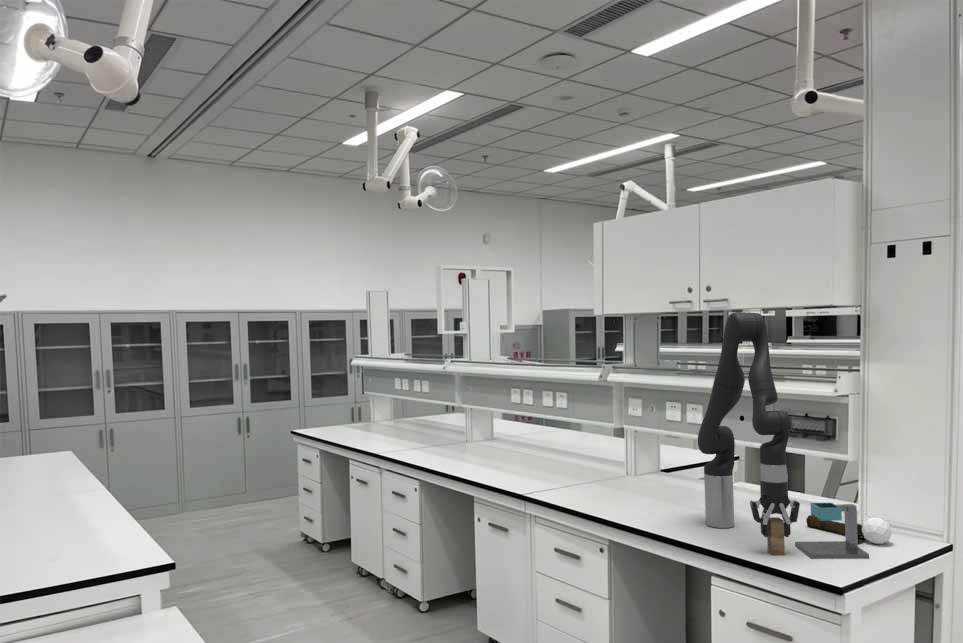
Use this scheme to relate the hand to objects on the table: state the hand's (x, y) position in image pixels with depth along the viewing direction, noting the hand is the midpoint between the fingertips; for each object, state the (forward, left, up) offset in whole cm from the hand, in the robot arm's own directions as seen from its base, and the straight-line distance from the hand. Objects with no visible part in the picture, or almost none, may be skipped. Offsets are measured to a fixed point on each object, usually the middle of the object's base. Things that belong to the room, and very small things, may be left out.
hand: (775, 536), depth 201 cm
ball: (-9, +33, -5) cm, 35 cm away
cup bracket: (-1, +15, -5) cm, 16 cm away
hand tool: (-20, +26, -5) cm, 34 cm away
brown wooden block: (0, 0, -5) cm, 5 cm away
